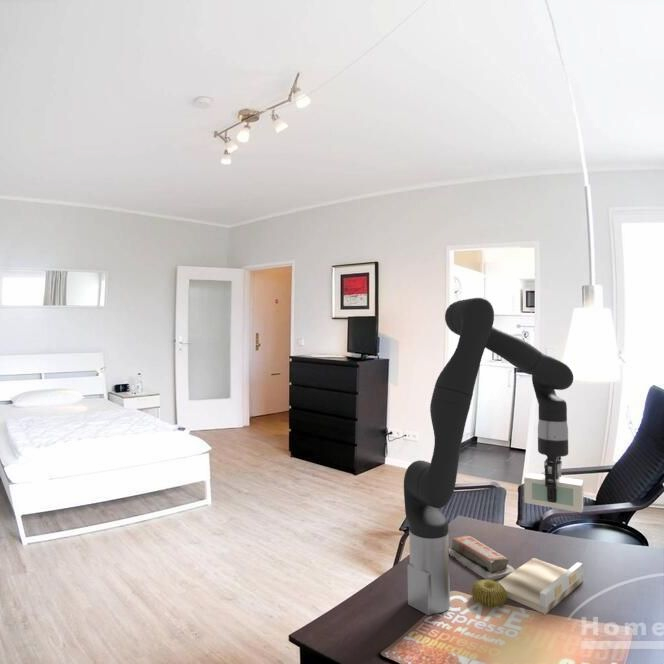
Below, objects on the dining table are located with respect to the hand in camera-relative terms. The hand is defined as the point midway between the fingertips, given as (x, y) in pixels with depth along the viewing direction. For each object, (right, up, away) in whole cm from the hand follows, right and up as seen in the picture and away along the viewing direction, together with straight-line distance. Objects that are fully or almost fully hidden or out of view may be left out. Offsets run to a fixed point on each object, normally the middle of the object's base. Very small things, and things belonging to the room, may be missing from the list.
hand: (553, 498), depth 127 cm
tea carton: (0, -2, 0) cm, 2 cm away
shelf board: (-8, -19, -9) cm, 23 cm away
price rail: (-4, -17, -14) cm, 22 cm away
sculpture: (-23, -20, -15) cm, 34 cm away
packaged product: (-19, -20, +4) cm, 28 cm away
